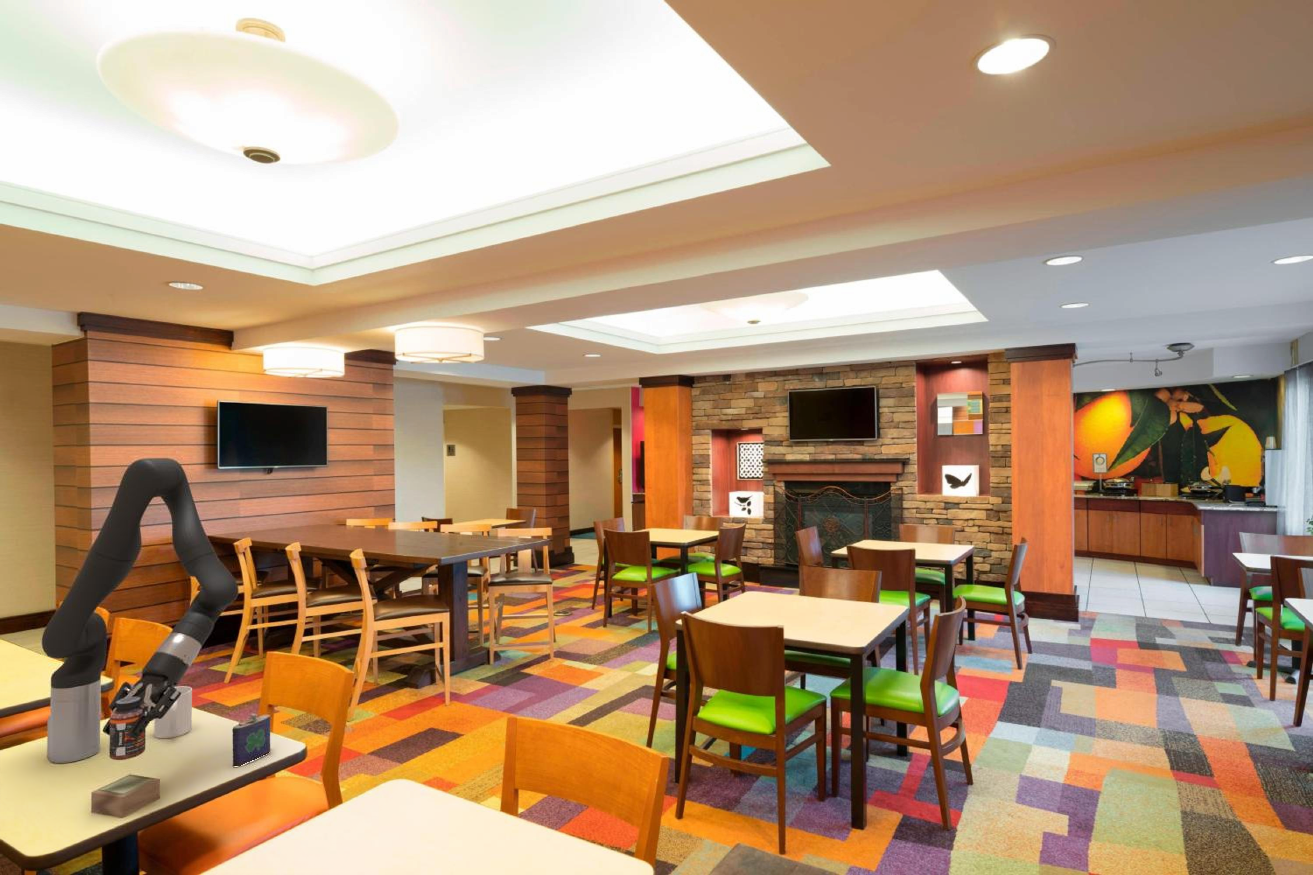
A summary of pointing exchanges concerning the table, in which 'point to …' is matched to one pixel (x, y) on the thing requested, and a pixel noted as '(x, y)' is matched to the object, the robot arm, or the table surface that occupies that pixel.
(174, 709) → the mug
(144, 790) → the block
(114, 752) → the supplement bottle
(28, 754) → the table surface
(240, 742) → the flask
